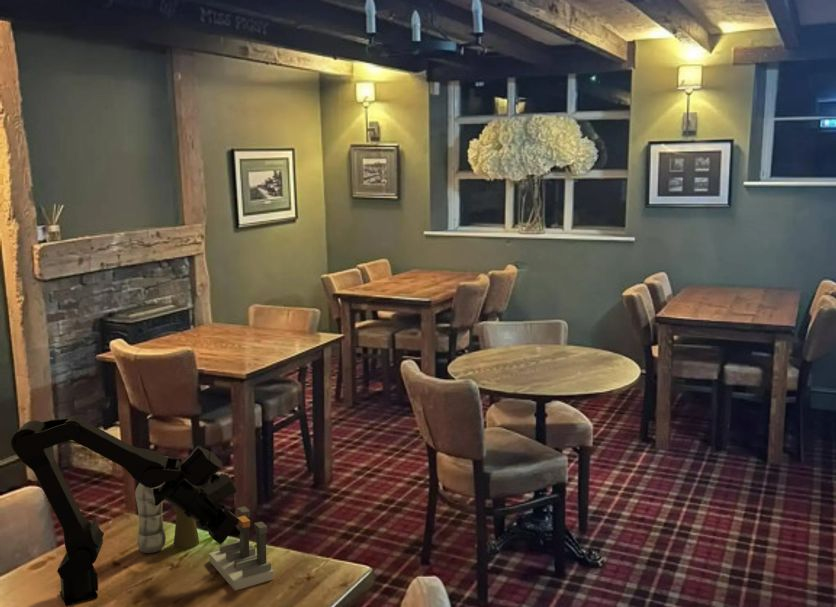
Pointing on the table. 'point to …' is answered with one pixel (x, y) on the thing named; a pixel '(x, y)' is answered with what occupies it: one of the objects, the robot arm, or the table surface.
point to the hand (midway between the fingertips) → (238, 533)
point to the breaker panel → (240, 566)
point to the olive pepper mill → (185, 531)
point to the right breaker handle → (261, 542)
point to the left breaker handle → (243, 512)
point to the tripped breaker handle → (244, 536)
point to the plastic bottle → (149, 521)
